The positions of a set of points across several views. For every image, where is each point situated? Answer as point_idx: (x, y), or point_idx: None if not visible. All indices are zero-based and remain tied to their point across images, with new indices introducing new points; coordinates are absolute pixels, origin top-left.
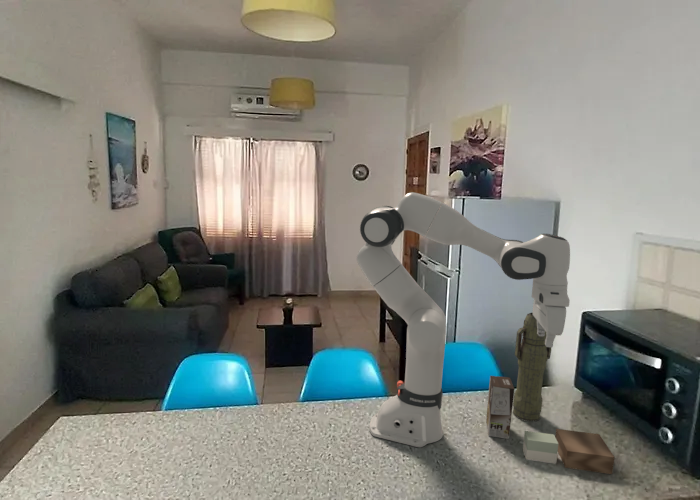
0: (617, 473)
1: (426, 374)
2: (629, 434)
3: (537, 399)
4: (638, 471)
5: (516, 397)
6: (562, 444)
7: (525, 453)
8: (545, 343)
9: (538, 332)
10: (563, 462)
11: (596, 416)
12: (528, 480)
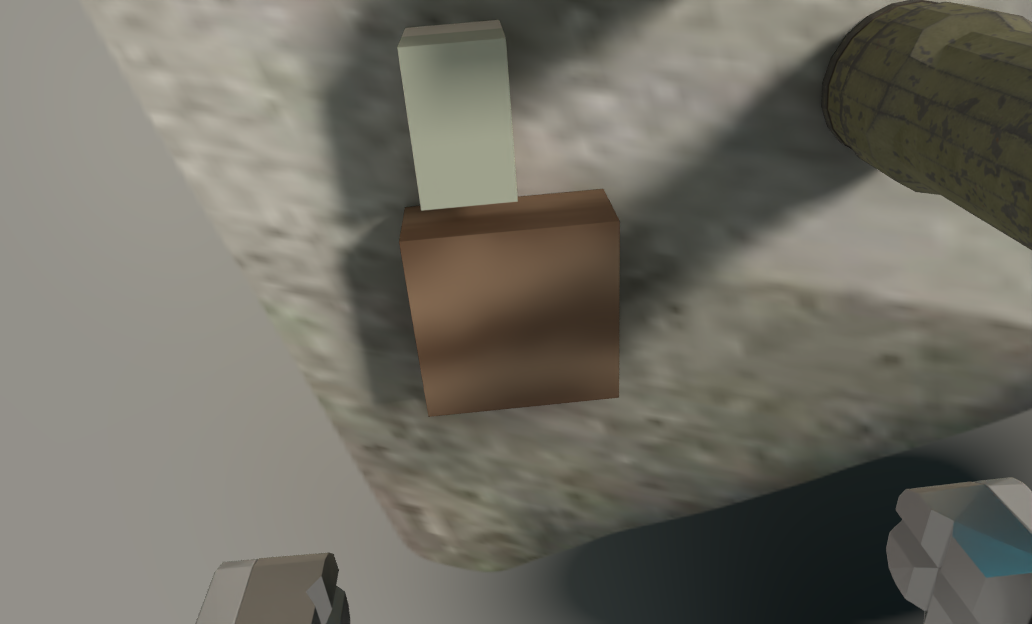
0: None
1: None
2: (763, 479)
3: (902, 163)
4: (489, 452)
5: (958, 26)
6: (483, 228)
7: (430, 28)
8: (256, 590)
9: (950, 536)
10: None
11: (905, 400)
12: (208, 19)
